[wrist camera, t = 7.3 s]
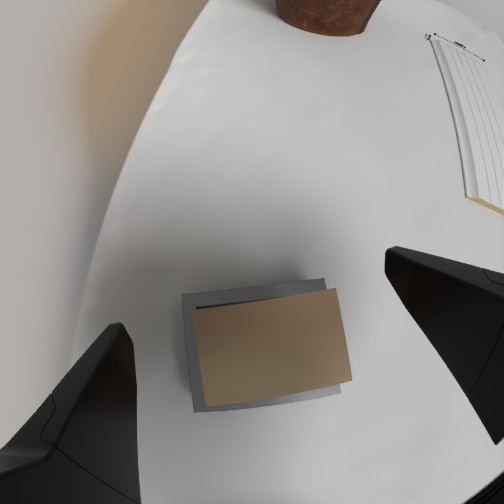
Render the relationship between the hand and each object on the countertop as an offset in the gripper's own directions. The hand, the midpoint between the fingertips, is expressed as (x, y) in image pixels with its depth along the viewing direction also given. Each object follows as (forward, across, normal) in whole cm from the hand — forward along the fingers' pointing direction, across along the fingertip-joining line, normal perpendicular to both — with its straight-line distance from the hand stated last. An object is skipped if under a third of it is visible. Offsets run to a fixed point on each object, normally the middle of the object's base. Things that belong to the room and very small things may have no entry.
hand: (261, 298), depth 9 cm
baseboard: (+20, -35, -2) cm, 40 cm away
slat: (+6, 0, +9) cm, 11 cm away
